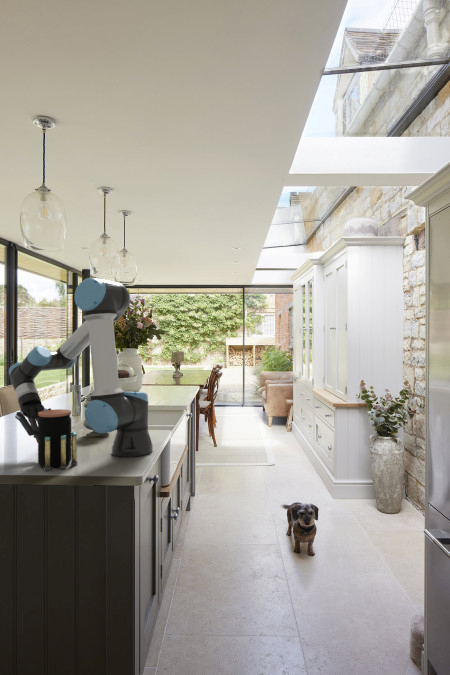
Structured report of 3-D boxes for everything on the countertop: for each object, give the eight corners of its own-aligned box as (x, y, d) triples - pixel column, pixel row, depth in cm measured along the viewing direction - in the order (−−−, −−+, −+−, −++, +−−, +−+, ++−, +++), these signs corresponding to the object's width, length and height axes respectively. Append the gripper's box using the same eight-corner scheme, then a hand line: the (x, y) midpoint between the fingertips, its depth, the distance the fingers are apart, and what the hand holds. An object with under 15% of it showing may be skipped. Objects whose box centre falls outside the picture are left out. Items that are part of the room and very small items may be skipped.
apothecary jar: (105, 431, 203) (105, 392, 203) (115, 435, 193) (115, 395, 193) (79, 434, 196) (79, 394, 196) (89, 439, 186) (89, 397, 186)
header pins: (43, 470, 142) (43, 436, 142) (75, 463, 150) (75, 431, 150) (48, 473, 140) (48, 438, 140) (80, 466, 147) (80, 433, 147)
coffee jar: (52, 458, 156) (52, 408, 156) (77, 461, 153) (77, 410, 153) (30, 467, 146) (30, 413, 146) (57, 470, 143) (57, 415, 143)
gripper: (42, 402, 172) (60, 452, 160) (7, 405, 163) (24, 458, 151) (48, 389, 169) (67, 440, 157) (12, 392, 159) (30, 446, 148)
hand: (46, 449), depth 154 cm, fingers closed
